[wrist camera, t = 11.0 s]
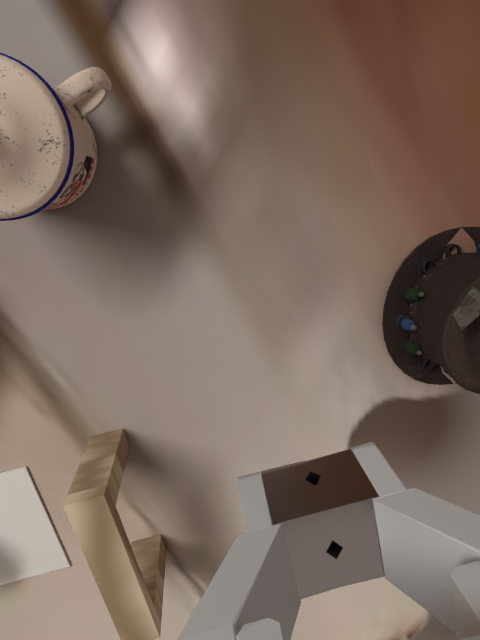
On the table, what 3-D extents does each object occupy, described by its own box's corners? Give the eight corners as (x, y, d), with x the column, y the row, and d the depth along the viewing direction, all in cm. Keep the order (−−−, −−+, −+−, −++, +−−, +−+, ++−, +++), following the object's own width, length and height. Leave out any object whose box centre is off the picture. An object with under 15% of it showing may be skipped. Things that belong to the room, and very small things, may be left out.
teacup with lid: (32, 235, 35) (-41, 258, 24) (-53, 130, 32) (-180, 101, 21) (156, 147, 34) (140, 129, 23) (80, 32, 32) (19, -52, 20)
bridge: (122, 428, 41) (103, 495, 32) (166, 549, 45) (160, 637, 36) (90, 436, 41) (63, 505, 32) (137, 557, 45) (124, 647, 36)
